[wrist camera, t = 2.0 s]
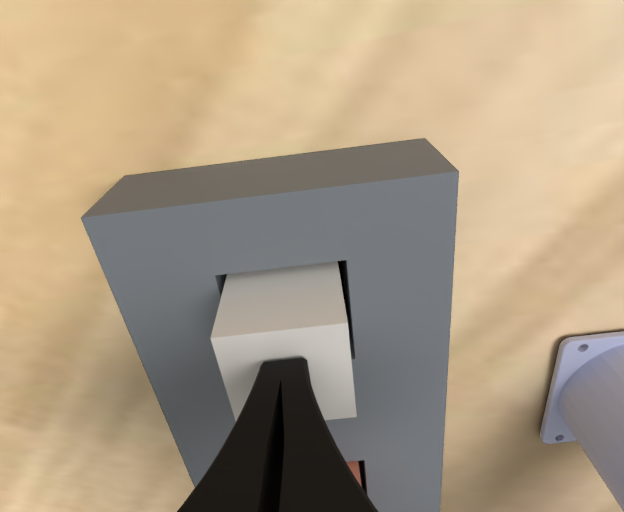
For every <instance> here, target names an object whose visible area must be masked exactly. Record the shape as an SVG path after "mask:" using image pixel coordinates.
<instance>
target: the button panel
mask: <svg viewBox="0 0 624 512" xmlns="http://www.w3.org/2000/svg"><path fill="white" fill-rule="evenodd" d="M458 178H459V171H458V170H457V169H456V168H455V167H454V166H453V165H452V164H451V163H450V162H449V161H448V160H447V159H446V158H445V157H444V156H443V155H442V154H441V153H440V152H439V151H438V150H437V149H436V148H435V147H434V146H432V145H431V144H430V143H429V142H428V141H427V140H426V139H425V138H423V139H415V140H407V141H399V142H391V143H383V144H375V145H367V146H359V147H351V148H343V149H335V150H327V151H319V152H311V153H303V154H295V155H287V156H279V157H271V158H263V159H255V160H247V161H239V162H231V163H223V164H215V165H207V166H199V167H191V168H183V169H175V170H167V171H159V172H151V173H143V174H135V175H127V176H124V177H123V178H122V179H121V180H120V181H118V182H117V183H116V184H115V185H114V186H113V187H112V188H111V189H110V190H109V191H108V192H107V193H106V194H105V195H104V196H103V197H102V198H101V199H100V200H99V201H98V202H97V203H96V204H95V205H93V206H92V207H91V208H90V209H89V210H88V211H87V212H86V213H85V214H84V215H83V216H82V217H81V220H82V222H83V224H84V227H85V229H86V231H87V234H88V236H89V238H90V241H91V243H92V246H93V248H94V250H95V253H96V255H97V257H98V260H99V262H100V264H101V267H102V269H103V272H104V274H105V276H106V279H107V281H108V283H109V286H110V288H111V290H112V293H113V295H114V298H115V300H116V302H117V305H118V307H119V309H120V312H121V314H122V316H123V319H124V321H125V324H126V326H127V328H128V331H129V333H130V335H131V338H132V340H133V342H134V345H135V347H136V349H137V352H138V354H139V357H140V359H141V361H142V364H143V366H144V368H145V371H146V373H147V375H148V378H149V380H150V383H151V385H152V387H153V390H154V392H155V394H156V397H157V399H158V401H159V404H160V406H161V409H162V411H163V413H164V416H165V418H166V420H167V423H168V425H169V427H170V430H171V432H172V435H173V437H174V439H175V442H176V444H177V446H178V449H179V451H180V453H181V456H182V458H183V461H184V463H185V465H186V468H187V470H188V472H189V475H190V477H191V479H192V482H193V484H194V486H195V487H196V486H197V485H198V483H199V482H200V480H201V479H202V478H203V476H204V475H205V473H206V472H207V470H208V469H209V467H210V466H211V464H212V462H213V461H214V459H215V458H216V456H217V454H218V453H219V451H220V450H221V448H222V446H223V444H224V443H225V441H226V439H227V437H228V435H229V434H230V432H231V430H232V428H233V427H234V425H235V423H236V421H235V418H234V414H233V411H232V408H231V404H230V401H229V398H228V395H227V391H226V388H225V385H224V381H223V378H222V375H221V372H220V368H219V365H218V362H217V359H216V355H215V352H214V349H213V345H212V342H211V339H210V338H211V334H212V330H213V326H214V322H215V319H216V315H217V311H218V307H219V303H220V299H221V296H222V292H223V288H224V284H225V280H226V277H227V274H231V273H240V272H248V271H257V270H265V269H274V268H282V267H291V266H299V265H308V264H316V263H325V262H333V261H342V270H343V280H344V290H345V300H344V303H345V309H346V315H347V321H348V329H349V340H350V350H351V361H352V371H353V382H354V392H355V403H356V413H357V417H352V418H343V419H333V420H325V422H326V424H327V427H328V429H329V431H330V433H331V435H332V437H333V439H334V441H335V443H336V445H337V447H338V449H339V450H340V452H341V454H342V456H343V458H344V459H345V461H346V462H351V461H358V464H359V471H360V479H361V486H362V488H363V490H364V491H365V493H366V494H367V496H368V497H369V499H370V500H371V502H372V503H373V505H374V506H375V508H376V509H377V510H378V512H440V502H441V484H442V466H443V448H444V430H445V412H446V394H447V376H448V358H449V340H450V322H451V304H452V286H453V268H454V250H455V232H456V214H457V196H458Z"/></svg>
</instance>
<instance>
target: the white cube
mask: <svg viewBox="0 0 624 512" xmlns="http://www.w3.org/2000/svg"><path fill="white" fill-rule="evenodd" d="M210 339H211V342H212V345H213V349H214V352H215V355H216V359H217V362H218V365H219V368H220V372H221V375H222V378H223V381H224V385H225V388H226V391H227V395H228V398H229V401H230V404H231V408H232V411H233V414H234V418H235V421H237V419H238V417H239V415H240V413H241V411H242V409H243V407H244V405H245V403H246V400H247V398H248V396H249V394H250V392H251V389H252V387H253V384H254V382H255V380H256V377H257V374H258V372H259V369H260V366H261V364H262V363H263V362H268V361H277V360H286V359H295V358H305V359H306V360H307V362H308V368H309V374H310V380H311V385H312V388H313V392H314V395H315V398H316V400H317V403H318V405H319V408H320V410H321V413H322V415H323V418H324V420H333V419H343V418H352V417H357V413H356V403H355V392H354V382H353V371H352V361H351V350H350V340H349V329H348V321H347V315H346V309H345V303H344V297H343V291H342V285H341V279H340V273H339V267H338V261H333V262H325V263H316V264H308V265H299V266H291V267H282V268H274V269H265V270H257V271H248V272H240V273H231V274H227V277H226V280H225V284H224V288H223V292H222V296H221V299H220V303H219V307H218V311H217V315H216V319H215V322H214V326H213V330H212V334H211V338H210Z"/></svg>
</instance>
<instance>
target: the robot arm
mask: <svg viewBox="0 0 624 512" xmlns="http://www.w3.org/2000/svg"><path fill="white" fill-rule="evenodd" d="M580 345H581V346H580ZM540 438H541V440H542V441H543V443H546V444H554V443H563V442H573V441H578V443H579V444H580V446H581V447H582V449H583V450H584V452H585V453H586V455H587V456H588V458H589V460H590V461H591V463H592V464H593V466H594V467H595V469H596V470H597V472H598V473H599V475H600V476H601V478H602V479H603V481H604V482H605V484H606V485H607V487H608V489H609V490H610V492H611V493H612V495H613V496H614V498H615V499H616V501H617V502H618V504H619V505H620V507H621V508H622V510H623V511H624V331H621V332H612V333H603V334H594V335H585V336H576V337H569V338H566V339H564V340H563V341H562V342H561V343H560V346H559V350H558V354H557V359H556V363H555V368H554V372H553V377H552V381H551V386H550V390H549V395H548V399H547V404H546V408H545V413H544V417H543V422H542V426H541V430H540ZM177 512H378V510H377V509H376V508H375V506H374V505H373V503H372V502H371V500H370V499H369V497H368V496H367V494H366V493H365V491H364V490H363V488H362V487H361V486H360V484H359V483H358V481H357V479H356V478H355V476H354V475H353V473H352V471H351V470H350V468H349V466H348V465H347V463H346V461H345V459H344V458H343V456H342V454H341V452H340V450H339V449H338V447H337V445H336V443H335V441H334V439H333V437H332V435H331V433H330V431H329V429H328V427H327V424H326V422H325V420H324V418H323V415H322V413H321V410H320V408H319V405H318V403H317V400H316V398H315V395H314V392H313V388H312V385H311V380H310V374H309V368H308V362H307V360H306V359H305V358H295V359H286V360H277V361H268V362H263V363H262V364H261V366H260V369H259V372H258V374H257V377H256V380H255V382H254V384H253V387H252V389H251V392H250V394H249V396H248V398H247V400H246V403H245V405H244V407H243V409H242V411H241V413H240V415H239V417H238V419H237V421H236V423H235V425H234V427H233V428H232V430H231V432H230V434H229V435H228V437H227V439H226V441H225V443H224V444H223V446H222V448H221V450H220V451H219V453H218V454H217V456H216V458H215V459H214V461H213V462H212V464H211V466H210V467H209V469H208V470H207V472H206V473H205V475H204V476H203V478H202V479H201V480H200V482H199V483H198V485H197V486H196V487H195V489H194V490H193V491H192V493H191V494H190V496H189V497H188V498H187V500H186V501H185V502H184V504H183V505H182V506H181V507H180V509H179V510H178V511H177Z"/></svg>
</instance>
